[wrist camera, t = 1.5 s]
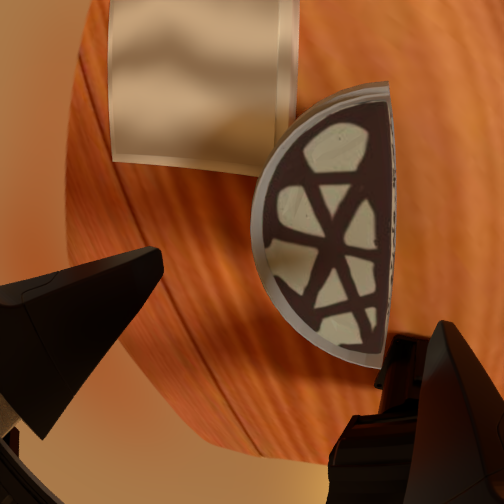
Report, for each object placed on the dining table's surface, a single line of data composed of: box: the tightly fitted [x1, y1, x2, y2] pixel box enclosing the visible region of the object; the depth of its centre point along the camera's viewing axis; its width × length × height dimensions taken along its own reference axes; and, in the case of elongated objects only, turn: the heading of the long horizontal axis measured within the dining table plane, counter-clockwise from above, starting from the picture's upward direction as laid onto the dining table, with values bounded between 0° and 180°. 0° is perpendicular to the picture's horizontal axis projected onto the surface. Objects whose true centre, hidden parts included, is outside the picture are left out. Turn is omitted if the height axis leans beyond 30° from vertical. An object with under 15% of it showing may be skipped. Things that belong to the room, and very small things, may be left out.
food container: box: [250, 81, 396, 369], centre depth 16 cm, size 12×6×10 cm, turn 10°
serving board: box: [108, 0, 300, 177], centre depth 20 cm, size 16×16×2 cm
